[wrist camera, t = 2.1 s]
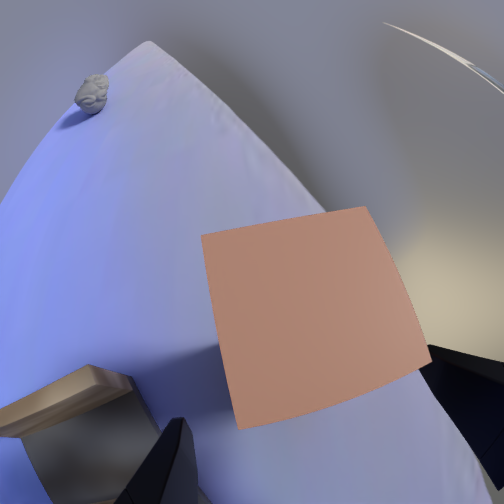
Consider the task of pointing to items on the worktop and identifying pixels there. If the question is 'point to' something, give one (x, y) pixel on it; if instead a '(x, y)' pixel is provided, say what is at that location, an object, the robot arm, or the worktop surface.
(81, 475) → the cleat board
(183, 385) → the worktop surface
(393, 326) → the cabinet block
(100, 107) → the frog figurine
